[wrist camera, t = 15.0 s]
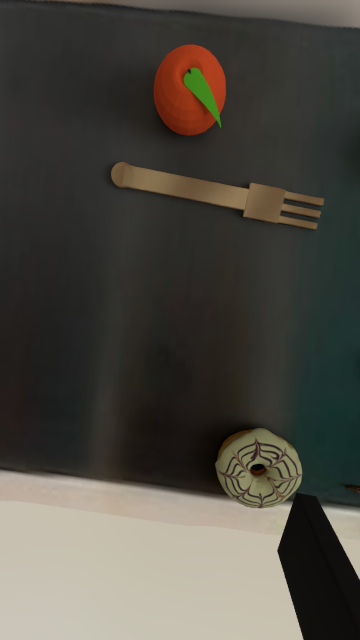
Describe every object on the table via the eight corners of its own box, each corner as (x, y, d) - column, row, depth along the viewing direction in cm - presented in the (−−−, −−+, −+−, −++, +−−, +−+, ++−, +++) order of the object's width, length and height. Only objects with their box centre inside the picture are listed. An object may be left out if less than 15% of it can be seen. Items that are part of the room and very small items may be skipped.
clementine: (241, 120, 32) (256, 83, 25) (193, 167, 33) (194, 145, 26) (192, 56, 31) (193, 0, 24) (144, 108, 32) (131, 68, 25)
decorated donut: (254, 407, 39) (260, 423, 36) (310, 457, 41) (322, 477, 37) (200, 458, 41) (201, 478, 38) (255, 504, 43) (262, 527, 39)
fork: (110, 191, 34) (108, 189, 34) (114, 157, 33) (113, 155, 33) (313, 231, 34) (316, 230, 34) (322, 198, 34) (325, 197, 33)
